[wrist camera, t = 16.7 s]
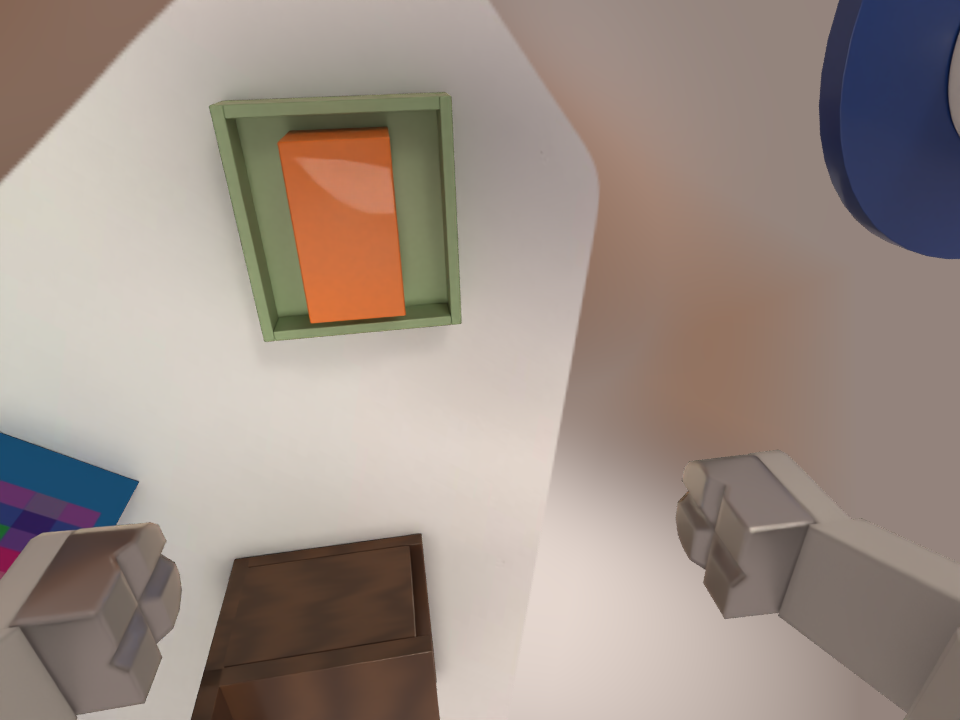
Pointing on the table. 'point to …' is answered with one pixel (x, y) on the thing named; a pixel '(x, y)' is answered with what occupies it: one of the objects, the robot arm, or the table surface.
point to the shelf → (324, 637)
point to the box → (52, 495)
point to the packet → (344, 221)
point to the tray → (418, 195)
